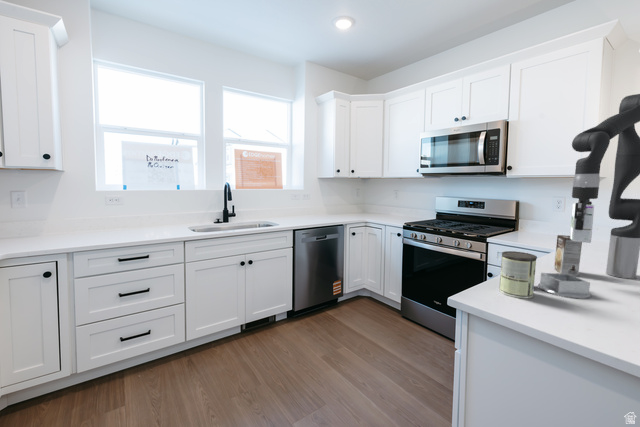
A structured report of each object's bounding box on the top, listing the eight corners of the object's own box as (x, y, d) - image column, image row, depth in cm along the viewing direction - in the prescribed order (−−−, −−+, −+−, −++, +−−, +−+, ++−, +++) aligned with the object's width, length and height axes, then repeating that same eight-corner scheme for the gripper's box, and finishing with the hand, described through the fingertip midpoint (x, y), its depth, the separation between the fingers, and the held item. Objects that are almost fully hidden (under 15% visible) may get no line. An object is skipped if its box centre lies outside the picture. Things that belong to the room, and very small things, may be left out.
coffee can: (495, 286, 113) (498, 250, 112) (527, 290, 110) (531, 252, 108) (502, 296, 103) (505, 256, 102) (537, 300, 100) (541, 259, 99)
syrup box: (591, 243, 113) (595, 204, 111) (571, 241, 116) (575, 204, 115) (588, 240, 118) (592, 203, 116) (568, 238, 121) (572, 203, 119)
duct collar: (529, 282, 118) (530, 270, 117) (569, 284, 117) (571, 272, 116) (555, 297, 103) (556, 283, 103) (602, 299, 102) (604, 285, 101)
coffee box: (553, 269, 138) (556, 234, 136) (570, 270, 136) (574, 235, 134) (561, 274, 130) (564, 238, 128) (579, 276, 127) (583, 239, 126)
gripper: (577, 185, 122) (573, 225, 124) (568, 186, 113) (564, 229, 115) (602, 185, 116) (597, 228, 118) (595, 186, 107) (590, 232, 109)
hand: (581, 228), depth 117 cm, fingers closed on syrup box, 6 cm apart
